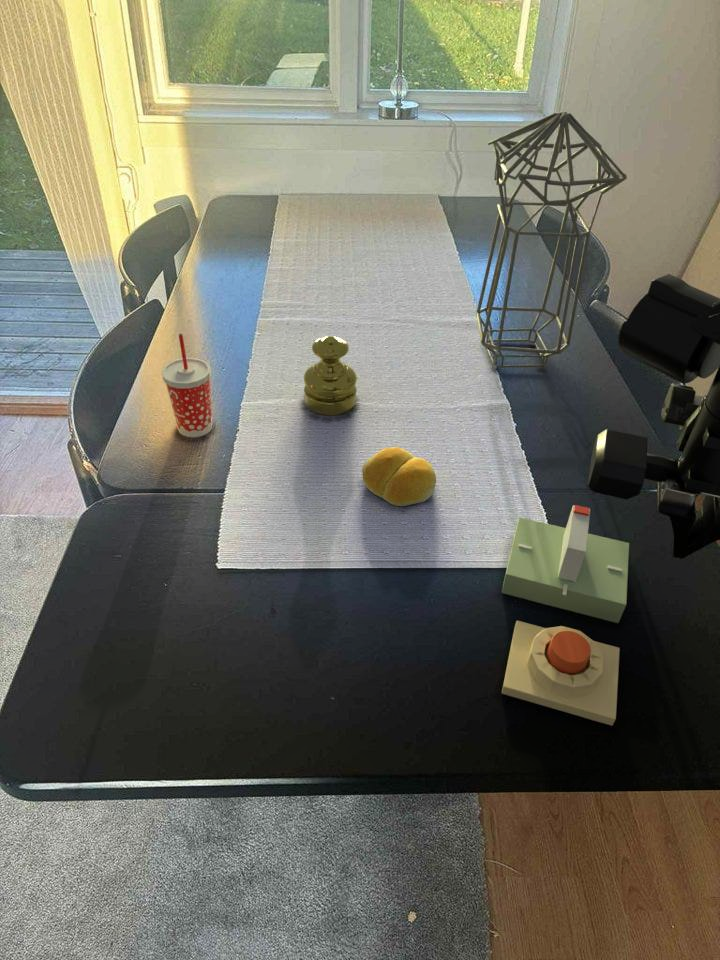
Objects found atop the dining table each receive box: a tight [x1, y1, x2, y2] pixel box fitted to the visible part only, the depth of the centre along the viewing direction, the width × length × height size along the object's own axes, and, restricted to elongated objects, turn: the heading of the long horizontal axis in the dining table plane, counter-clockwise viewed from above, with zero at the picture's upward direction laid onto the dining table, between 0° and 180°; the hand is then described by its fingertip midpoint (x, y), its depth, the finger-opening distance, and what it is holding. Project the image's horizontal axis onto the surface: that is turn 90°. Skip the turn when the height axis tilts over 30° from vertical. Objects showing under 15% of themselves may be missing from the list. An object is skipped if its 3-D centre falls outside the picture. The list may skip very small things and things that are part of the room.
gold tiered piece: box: [303, 335, 358, 416], centre depth 96 cm, size 7×8×10 cm
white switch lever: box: [558, 504, 591, 582], centre depth 72 cm, size 6×2×5 cm, turn 162°
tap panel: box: [501, 516, 630, 624], centre depth 75 cm, size 12×11×3 cm
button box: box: [501, 620, 621, 727], centre depth 66 cm, size 10×8×3 cm
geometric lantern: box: [475, 111, 628, 369], centre depth 99 cm, size 16×16×35 cm
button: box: [547, 631, 591, 674], centre depth 64 cm, size 4×4×2 cm
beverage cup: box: [161, 333, 214, 438], centre depth 90 cm, size 6×6×14 cm
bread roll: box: [361, 446, 437, 507], centre depth 85 cm, size 8×9×4 cm
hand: (677, 554), depth 62 cm, fingers closed
